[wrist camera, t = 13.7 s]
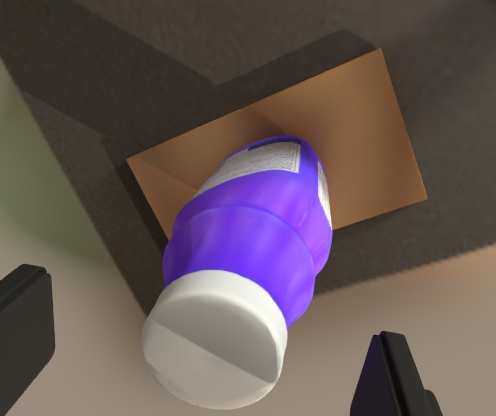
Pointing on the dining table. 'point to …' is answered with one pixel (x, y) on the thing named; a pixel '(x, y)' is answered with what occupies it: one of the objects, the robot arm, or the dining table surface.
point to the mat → (313, 132)
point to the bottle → (239, 274)
